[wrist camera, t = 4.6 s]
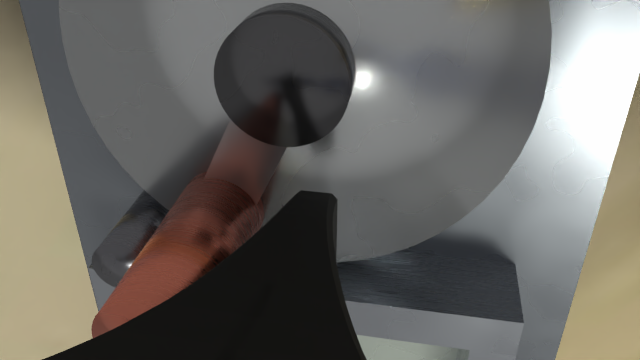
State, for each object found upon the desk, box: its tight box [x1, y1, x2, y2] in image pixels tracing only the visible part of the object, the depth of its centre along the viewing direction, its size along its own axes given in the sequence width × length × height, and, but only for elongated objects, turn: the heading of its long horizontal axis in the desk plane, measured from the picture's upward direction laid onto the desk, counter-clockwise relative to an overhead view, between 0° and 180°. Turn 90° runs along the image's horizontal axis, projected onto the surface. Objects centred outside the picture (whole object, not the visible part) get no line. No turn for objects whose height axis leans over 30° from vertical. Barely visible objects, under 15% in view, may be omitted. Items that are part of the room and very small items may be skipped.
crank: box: [59, 0, 552, 338], centre depth 10 cm, size 9×9×6 cm
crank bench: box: [19, 0, 640, 360], centre depth 14 cm, size 13×22×4 cm, turn 0°
